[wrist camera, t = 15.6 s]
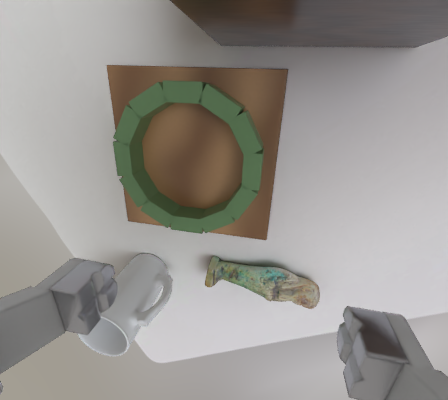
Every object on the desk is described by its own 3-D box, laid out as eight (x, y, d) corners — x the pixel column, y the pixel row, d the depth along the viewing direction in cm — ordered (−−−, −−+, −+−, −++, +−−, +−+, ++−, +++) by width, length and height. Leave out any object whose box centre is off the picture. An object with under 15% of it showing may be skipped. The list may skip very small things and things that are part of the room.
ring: (271, 85, 25) (270, 83, 22) (255, 228, 32) (253, 241, 29) (120, 79, 28) (103, 78, 25) (136, 213, 35) (124, 222, 32)
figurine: (217, 239, 34) (210, 256, 31) (323, 275, 33) (328, 296, 30) (208, 268, 36) (201, 287, 33) (307, 302, 35) (310, 325, 32)
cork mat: (287, 69, 24) (288, 69, 24) (266, 238, 33) (266, 240, 32) (108, 65, 28) (106, 65, 27) (129, 219, 36) (128, 221, 35)
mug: (141, 288, 41) (93, 357, 30) (123, 255, 39) (64, 317, 28) (194, 280, 38) (162, 354, 27) (178, 244, 36) (136, 309, 25)
